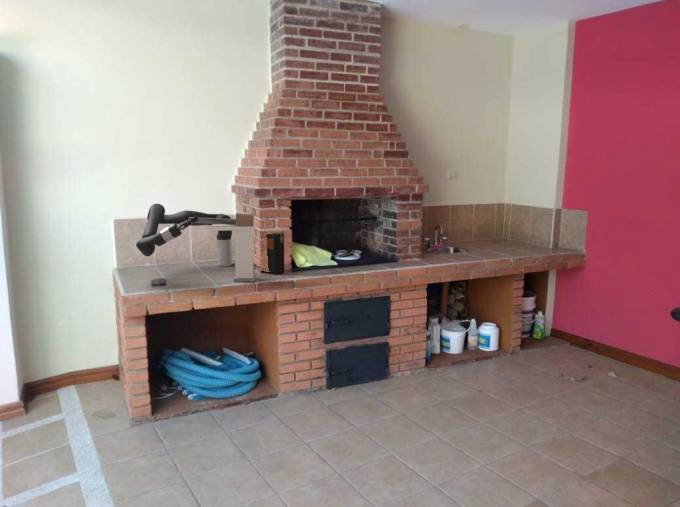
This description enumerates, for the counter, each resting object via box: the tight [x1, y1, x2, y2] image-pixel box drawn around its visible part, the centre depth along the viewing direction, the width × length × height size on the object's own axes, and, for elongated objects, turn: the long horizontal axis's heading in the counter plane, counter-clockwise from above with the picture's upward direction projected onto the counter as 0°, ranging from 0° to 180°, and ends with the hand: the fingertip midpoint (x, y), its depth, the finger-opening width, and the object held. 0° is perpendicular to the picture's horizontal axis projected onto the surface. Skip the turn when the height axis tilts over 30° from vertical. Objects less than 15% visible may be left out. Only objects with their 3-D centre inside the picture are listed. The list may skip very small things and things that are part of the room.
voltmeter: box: [266, 232, 285, 275], centre depth 334 cm, size 16×9×25 cm, turn 59°
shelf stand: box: [210, 223, 256, 283], centre depth 312 cm, size 10×24×32 cm, turn 98°
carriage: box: [188, 213, 255, 226], centre depth 308 cm, size 7×36×6 cm, turn 98°
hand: (197, 217), depth 305 cm, fingers closed on carriage, 3 cm apart
